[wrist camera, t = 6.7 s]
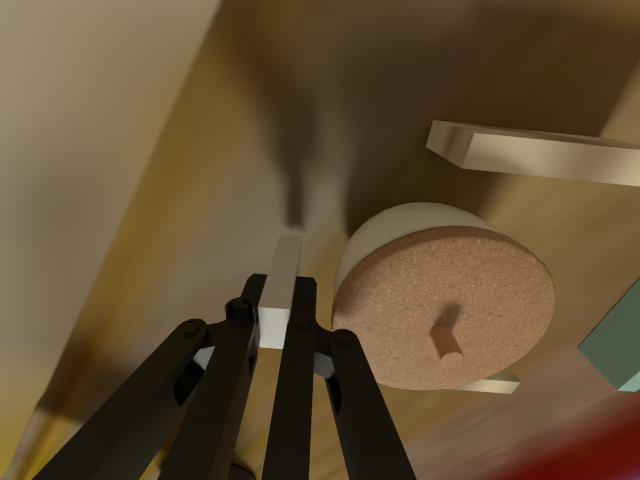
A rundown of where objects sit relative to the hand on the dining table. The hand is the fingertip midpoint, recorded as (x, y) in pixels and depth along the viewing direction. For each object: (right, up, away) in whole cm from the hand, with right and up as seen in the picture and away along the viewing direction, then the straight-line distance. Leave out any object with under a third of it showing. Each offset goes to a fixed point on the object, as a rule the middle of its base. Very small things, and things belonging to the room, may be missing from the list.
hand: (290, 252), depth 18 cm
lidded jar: (+8, 0, +2) cm, 8 cm away
